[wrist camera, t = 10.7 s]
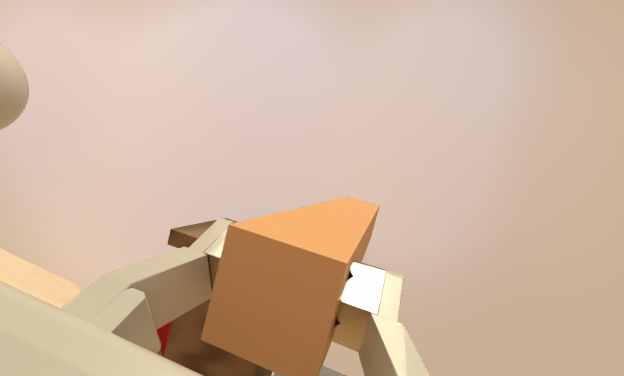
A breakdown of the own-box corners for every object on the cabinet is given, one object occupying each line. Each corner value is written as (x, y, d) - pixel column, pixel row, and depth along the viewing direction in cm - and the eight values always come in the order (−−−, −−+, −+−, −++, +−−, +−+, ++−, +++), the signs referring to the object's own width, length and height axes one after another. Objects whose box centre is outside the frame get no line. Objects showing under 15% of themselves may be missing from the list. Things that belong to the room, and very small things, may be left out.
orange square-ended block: (200, 339, 8) (228, 224, 7) (339, 227, 29) (347, 196, 29) (313, 389, 7) (347, 263, 7) (371, 236, 28) (379, 205, 28)
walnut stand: (117, 466, 31) (170, 229, 29) (182, 399, 40) (225, 218, 39) (221, 528, 28) (287, 269, 26) (264, 440, 38) (314, 246, 36)
